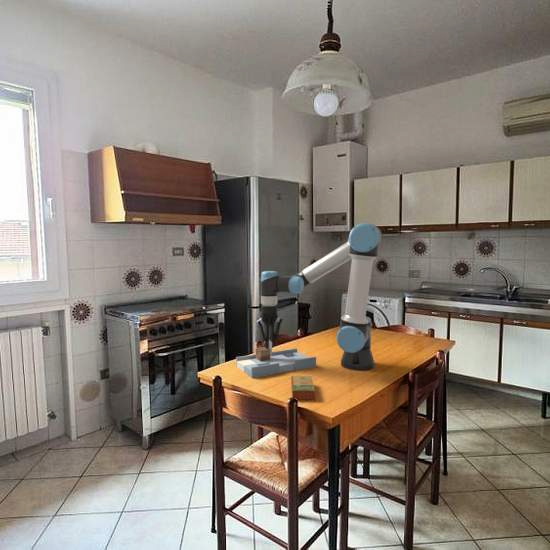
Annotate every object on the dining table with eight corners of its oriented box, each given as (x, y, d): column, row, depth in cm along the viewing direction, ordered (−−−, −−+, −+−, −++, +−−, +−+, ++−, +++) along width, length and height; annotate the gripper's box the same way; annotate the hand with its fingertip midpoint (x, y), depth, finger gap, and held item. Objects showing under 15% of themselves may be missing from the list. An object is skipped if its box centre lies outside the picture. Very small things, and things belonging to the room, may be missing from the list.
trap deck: (316, 366, 182) (316, 357, 182) (252, 378, 168) (252, 367, 167) (296, 357, 198) (296, 348, 198) (236, 366, 183) (236, 357, 183)
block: (270, 359, 183) (270, 349, 183) (260, 361, 181) (260, 350, 181) (265, 357, 188) (265, 346, 187) (255, 358, 186) (255, 348, 185)
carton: (311, 385, 160) (311, 375, 159) (315, 401, 144) (315, 390, 143) (290, 385, 160) (290, 375, 159) (292, 401, 144) (292, 390, 143)
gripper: (277, 302, 190) (277, 351, 192) (253, 304, 184) (253, 354, 186) (285, 304, 183) (285, 355, 185) (259, 307, 177) (260, 358, 179)
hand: (269, 354), depth 186 cm, fingers closed
